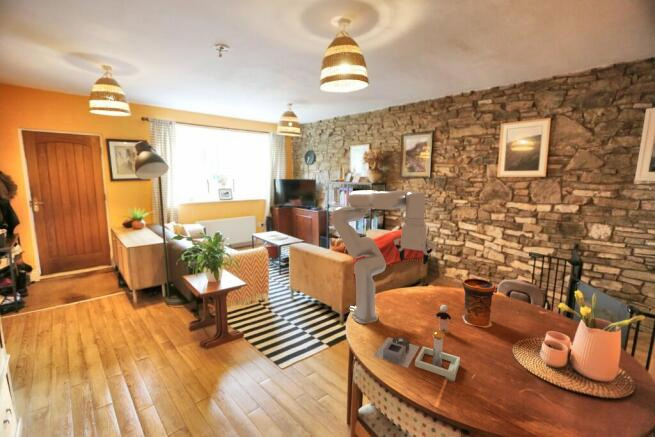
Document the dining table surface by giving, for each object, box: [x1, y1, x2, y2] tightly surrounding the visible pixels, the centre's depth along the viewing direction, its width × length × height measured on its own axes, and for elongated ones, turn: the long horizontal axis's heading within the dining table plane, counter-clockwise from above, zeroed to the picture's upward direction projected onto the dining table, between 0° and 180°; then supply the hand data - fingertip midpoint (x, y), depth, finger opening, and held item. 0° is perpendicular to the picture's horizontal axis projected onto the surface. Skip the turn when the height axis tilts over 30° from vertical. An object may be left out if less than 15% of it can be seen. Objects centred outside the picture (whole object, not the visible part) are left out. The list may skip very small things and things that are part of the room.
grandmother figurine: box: [434, 304, 453, 334], centre depth 139 cm, size 8×4×13 cm, turn 71°
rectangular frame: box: [414, 345, 461, 383], centre depth 114 cm, size 14×11×3 cm
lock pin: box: [431, 329, 446, 368], centre depth 113 cm, size 4×4×13 cm
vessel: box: [461, 278, 496, 329], centre depth 146 cm, size 14×14×20 cm
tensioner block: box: [373, 336, 420, 369], centre depth 123 cm, size 14×16×4 cm
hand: (413, 261), depth 126 cm, fingers open, 9 cm apart
